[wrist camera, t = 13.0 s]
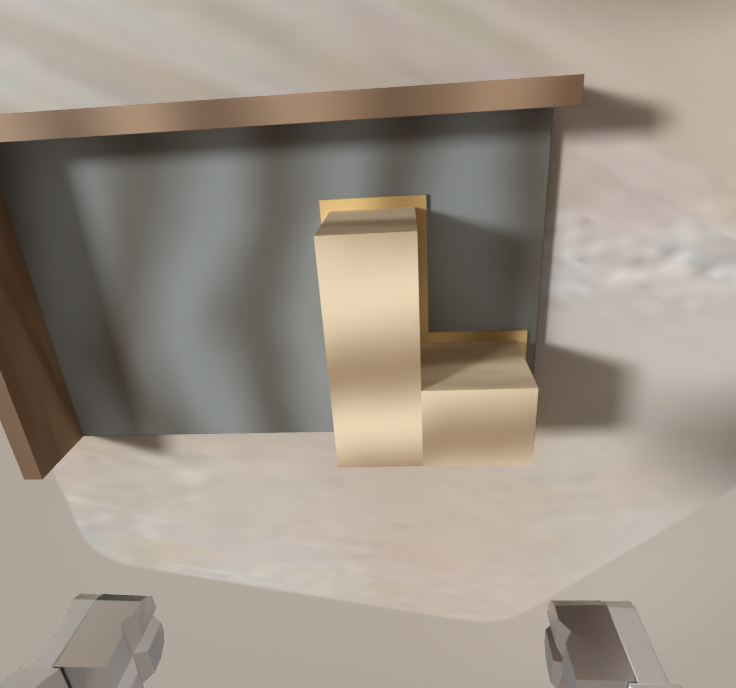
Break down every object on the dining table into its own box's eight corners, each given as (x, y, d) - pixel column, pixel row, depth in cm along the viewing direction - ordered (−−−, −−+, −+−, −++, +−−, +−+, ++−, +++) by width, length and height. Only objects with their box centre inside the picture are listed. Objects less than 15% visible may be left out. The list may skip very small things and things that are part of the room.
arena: (551, 78, 23) (584, 74, 19) (527, 422, 30) (546, 473, 26) (-34, 118, 25) (-120, 122, 21) (72, 430, 33) (24, 479, 28)
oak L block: (329, 211, 25) (313, 236, 21) (524, 201, 25) (551, 224, 20) (347, 411, 30) (337, 467, 25) (512, 407, 29) (532, 464, 25)
